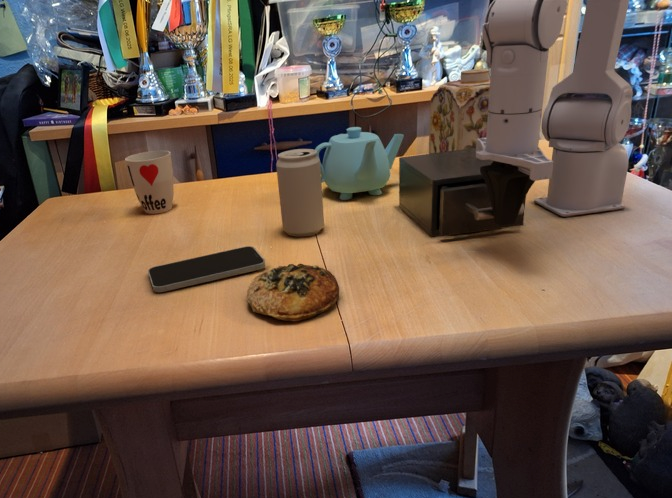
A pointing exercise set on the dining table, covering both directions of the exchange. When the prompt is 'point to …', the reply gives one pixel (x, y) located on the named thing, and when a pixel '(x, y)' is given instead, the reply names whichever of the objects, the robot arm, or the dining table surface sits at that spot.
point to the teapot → (357, 162)
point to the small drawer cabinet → (433, 182)
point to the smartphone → (205, 268)
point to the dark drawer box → (468, 210)
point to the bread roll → (293, 292)
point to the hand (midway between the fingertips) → (504, 223)
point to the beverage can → (300, 192)
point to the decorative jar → (459, 112)
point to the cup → (152, 180)
